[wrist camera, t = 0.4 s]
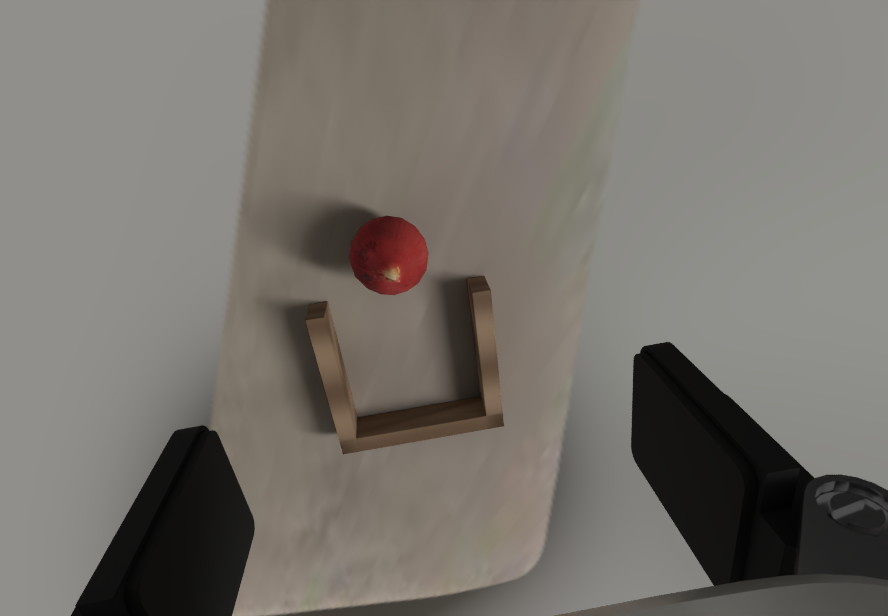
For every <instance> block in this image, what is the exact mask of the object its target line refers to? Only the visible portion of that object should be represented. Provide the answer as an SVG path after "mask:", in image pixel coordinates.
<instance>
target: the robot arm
mask: <svg viewBox="0 0 888 616" xmlns="http://www.w3.org/2000/svg"><path fill="white" fill-rule="evenodd" d="M633 366H634V367H633V368H634V369H633V401H632V437H631V449H632V454H633V457H634V460H635V462H636V464H637V465H638V467H639V469H640V470H641V472H642V473H643V475H644V476H645V478H646V480H647V481H648V483H649V484H650V486H651V487H652V489H653V491H654V492H655V494H656V495H657V496H658V498H659V500H660V501H661V503H662V505H663V506H664V508H665V509H666V511H667V512H668V514H669V516H670V517H671V519H672V520H673V522H674V523H675V525H676V527H677V528H678V530H679V531H680V533H681V534H682V536H683V538H684V539H685V541H686V542H687V544H688V545H689V547H690V549H691V550H692V552H693V553H694V555H695V557H696V558H697V560H698V561H699V563H700V564H701V566H702V567H703V569H704V571H705V572H706V574H707V575H708V577H709V578H710V580H711V582H712V583H713V585H714V586H711V587H706V588H700V589H694V590H688V591H682V592H676V593H671V594H665V595H659V596H654V597H649V598H644V599H639V600H634V601H628V602H623V603H618V604H613V605H607V606H602V607H597V608H592V609H587V610H581V611H576V612H571V613H566V614H561V615H555V616H888V490H886V489H884V488H882V487H880V486H878V485H877V484H875V483H872V482H869V481H866V480H863V479H860V478H857V477H852V476H846V475H824V476H821V477H817V478H814V477H813V476H812V475H811V474H810V473H809V472H808V471H806V470H805V469H804V468H803V467H802V466H801V465H800V464H799V463H798V462H797V461H796V460H795V459H794V458H793V457H792V456H791V455H790V454H789V453H788V452H787V451H786V450H785V449H783V448H782V447H781V446H780V445H779V444H778V443H777V442H776V441H775V440H774V439H773V438H772V437H771V436H770V435H769V434H768V433H767V432H766V431H765V430H764V429H762V427H761V426H760V425H758V424H757V423H756V422H755V421H754V420H753V419H752V418H751V417H750V416H749V415H748V414H747V413H746V412H745V411H744V410H743V409H742V408H741V407H740V406H739V405H738V404H737V403H735V402H734V401H733V400H732V399H731V398H730V397H729V396H727V395H726V394H724V393H723V392H722V391H720V390H719V388H718V387H716V386H715V385H714V384H713V383H712V382H711V381H710V380H709V379H708V378H707V377H706V376H705V375H704V374H703V373H702V372H701V371H700V370H699V369H698V368H697V367H696V366H695V365H694V364H692V362H691V361H690V360H688V359H687V358H686V357H685V356H684V355H683V354H682V353H681V352H680V351H679V350H678V349H677V348H676V347H675V346H674V345H673V344H671V343H670V342H665V343H659V344H654V345H648V346H644V347H643V348H642V349H641V352H640V354H636V355H635V356H634V365H633ZM254 529H255V527H254V519H253V516H252V514H251V511H250V509H249V506H248V504H247V502H246V499H245V497H244V495H243V492H242V490H241V488H240V485H239V483H238V481H237V478H236V476H235V473H234V471H233V469H232V466H231V464H230V462H229V459H228V457H227V455H226V452H225V450H224V447H223V445H222V443H221V440H220V438H219V436H218V434H217V432H216V431H213V430H212V431H209V430H208V428H207V427H205V426H197V427H192V428H186V429H180V430H177V431H175V432H174V433H173V434H172V436H171V438H170V439H169V441H168V443H167V445H166V446H165V448H164V450H163V452H162V454H161V455H160V457H159V459H158V461H157V462H156V464H155V466H154V468H153V469H152V471H151V473H150V475H149V476H148V478H147V480H146V482H145V484H144V485H143V487H142V489H141V491H140V492H139V494H138V496H137V498H136V499H135V501H134V503H133V505H132V507H131V508H130V510H129V512H128V514H127V515H126V517H125V519H124V521H123V522H122V524H121V526H120V528H119V530H118V531H117V533H116V535H115V536H114V538H113V540H112V542H111V544H110V545H109V547H108V549H107V551H106V552H105V554H104V556H103V558H102V559H101V561H100V563H99V565H98V566H97V569H96V570H95V572H94V574H93V575H92V577H91V579H90V581H89V582H88V584H87V586H86V588H85V589H84V591H83V593H82V595H81V596H80V598H79V600H78V602H77V604H76V608H75V609H74V611H73V613H72V615H71V616H232V613H233V610H234V606H235V602H236V599H237V595H238V591H239V588H240V584H241V580H242V577H243V573H244V569H245V566H246V562H247V558H248V555H249V551H250V547H251V544H252V540H253V536H254Z"/></svg>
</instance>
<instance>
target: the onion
mask: <svg viewBox="0 0 888 616" xmlns="http://www.w3.org/2000/svg"><path fill="white" fill-rule="evenodd" d="M349 259H350V262H351V266H352V269H353V272H354V275H355V277H356V278H357V279H358V280H359V281H360V282H361V283H362V284H363V285H364V286H365V287H366V288H368V289H370V290H372V291H375V292H377V293H379V294H387V295H396V294H399V293H402V292H405V291H408V290H409V289H411V288H412V287H413V286H415V285H416V284H418V283H419V282H420V280H421V278H422V276H423V275H424V273H425V271H426V268H427V261H428V250H427V246H426V242H425V239H424V238H423V236H422V235H421V234H420V232H419V231H418V229H417V228H416V227H415V226H414V225H412V224H411V223H409V222H407V221H406V220H404V219H402V218H399V217H391V216H384V217H379V218H375V219H372V220H371V221H369V222H368V223H366V224H365V225H363V226H362V227H361V228H360V229H359V231H358V233H357V234H356V236H355V237H354V239H353V240H352V242H351V248H350V254H349Z"/></svg>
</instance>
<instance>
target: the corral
mask: <svg viewBox="0 0 888 616" xmlns="http://www.w3.org/2000/svg"><path fill="white" fill-rule="evenodd" d="M467 284H468V292H469V301H470V309H471V318H472V326H473V335H474V343H475V352H476V360H477V369H478V377H479V386H480V394H481V397H476V398H471V399H465V400H459V401H453V402H447V403H442V404H436V405H430V406H424V407H418V408H413V409H407V410H401V411H395V412H389V413H384V414H378V415H372V416H366V417H360V418H357V414H356V410H355V406H354V402H353V398H352V394H351V391H350V387H349V383H348V379H347V375H346V371H345V367H344V363H343V359H342V355H341V352H340V348H339V344H338V340H337V336H336V332H335V328H334V324H333V320H332V316H331V313H330V309H329V305H328V302H322V303H315V304H310V306H309V310H308V313H307V317H306V320H305V321H306V325H307V328H308V332H309V335H310V339H311V342H312V346H313V349H314V353H315V356H316V360H317V363H318V367H319V370H320V374H321V378H322V381H323V385H324V388H325V392H326V395H327V399H328V402H329V406H330V409H331V413H332V416H333V420H334V423H335V427H336V430H337V434H338V438H339V441H340V445H341V448H342V452H343V454H347V453H353V452H359V451H365V450H370V449H376V448H382V447H387V446H393V445H399V444H404V443H410V442H416V441H422V440H427V439H433V438H439V437H444V436H450V435H456V434H462V433H467V432H473V431H479V430H484V429H490V428H496V427H501V426H504V423H503V412H502V402H501V392H500V381H499V371H498V360H497V350H496V340H495V329H494V319H493V309H492V298H491V290H490V288H489V285H488V283H487V281H486V279H485V277H484V276H481V277H475V278H469V279H467Z"/></svg>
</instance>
